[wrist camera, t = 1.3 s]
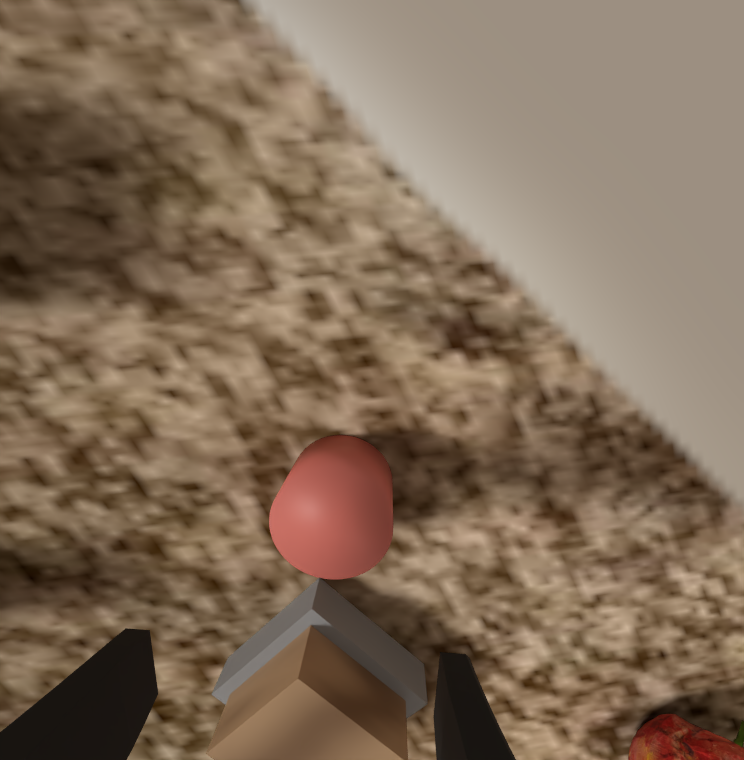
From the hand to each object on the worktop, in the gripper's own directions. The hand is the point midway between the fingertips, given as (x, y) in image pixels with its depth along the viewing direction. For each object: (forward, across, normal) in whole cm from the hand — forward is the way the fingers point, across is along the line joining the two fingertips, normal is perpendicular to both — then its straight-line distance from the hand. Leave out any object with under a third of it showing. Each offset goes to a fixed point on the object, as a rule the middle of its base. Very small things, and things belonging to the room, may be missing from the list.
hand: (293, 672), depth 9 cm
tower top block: (+7, +1, +11) cm, 13 cm away
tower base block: (+10, +1, +11) cm, 15 cm away
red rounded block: (+9, 0, 0) cm, 9 cm away
